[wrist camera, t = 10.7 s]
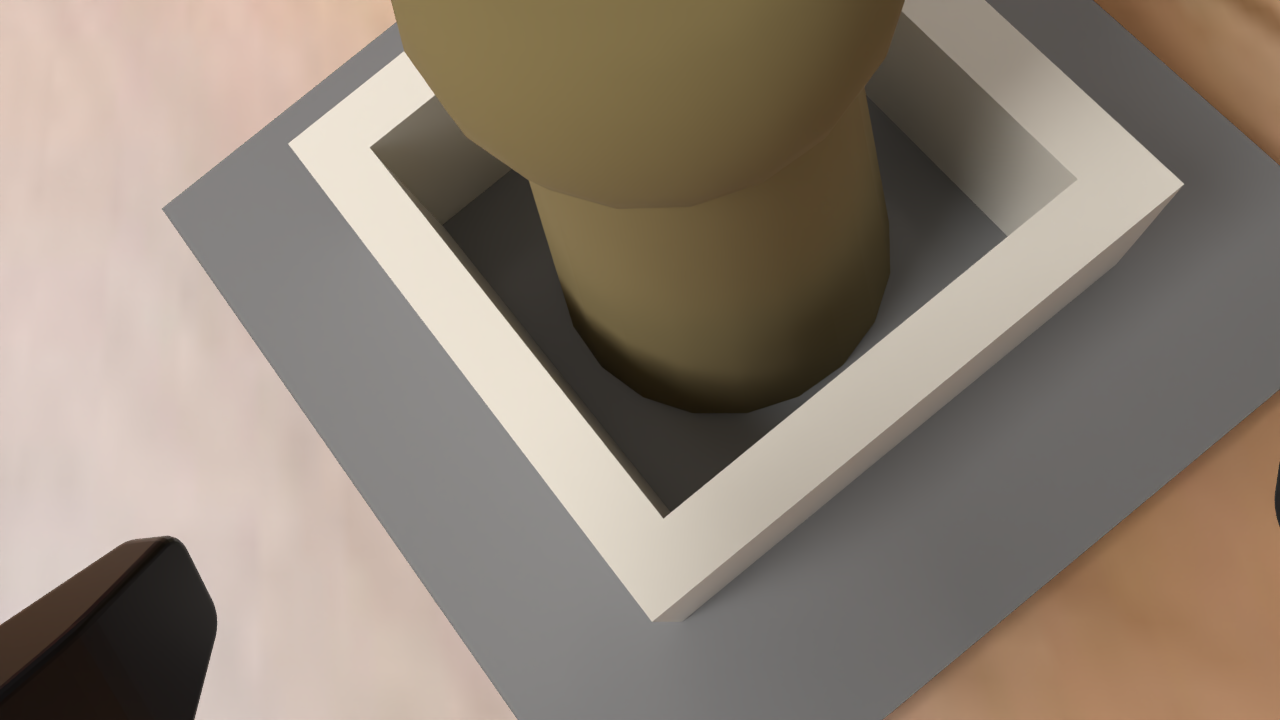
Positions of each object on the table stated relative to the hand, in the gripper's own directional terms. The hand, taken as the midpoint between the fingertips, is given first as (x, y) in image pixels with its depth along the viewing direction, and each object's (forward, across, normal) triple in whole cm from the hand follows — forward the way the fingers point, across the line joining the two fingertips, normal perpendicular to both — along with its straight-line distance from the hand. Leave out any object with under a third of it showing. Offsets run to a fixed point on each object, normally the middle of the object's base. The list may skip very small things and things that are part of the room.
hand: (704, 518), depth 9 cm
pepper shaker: (+11, 0, +3) cm, 11 cm away
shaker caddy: (+12, 0, +3) cm, 12 cm away
